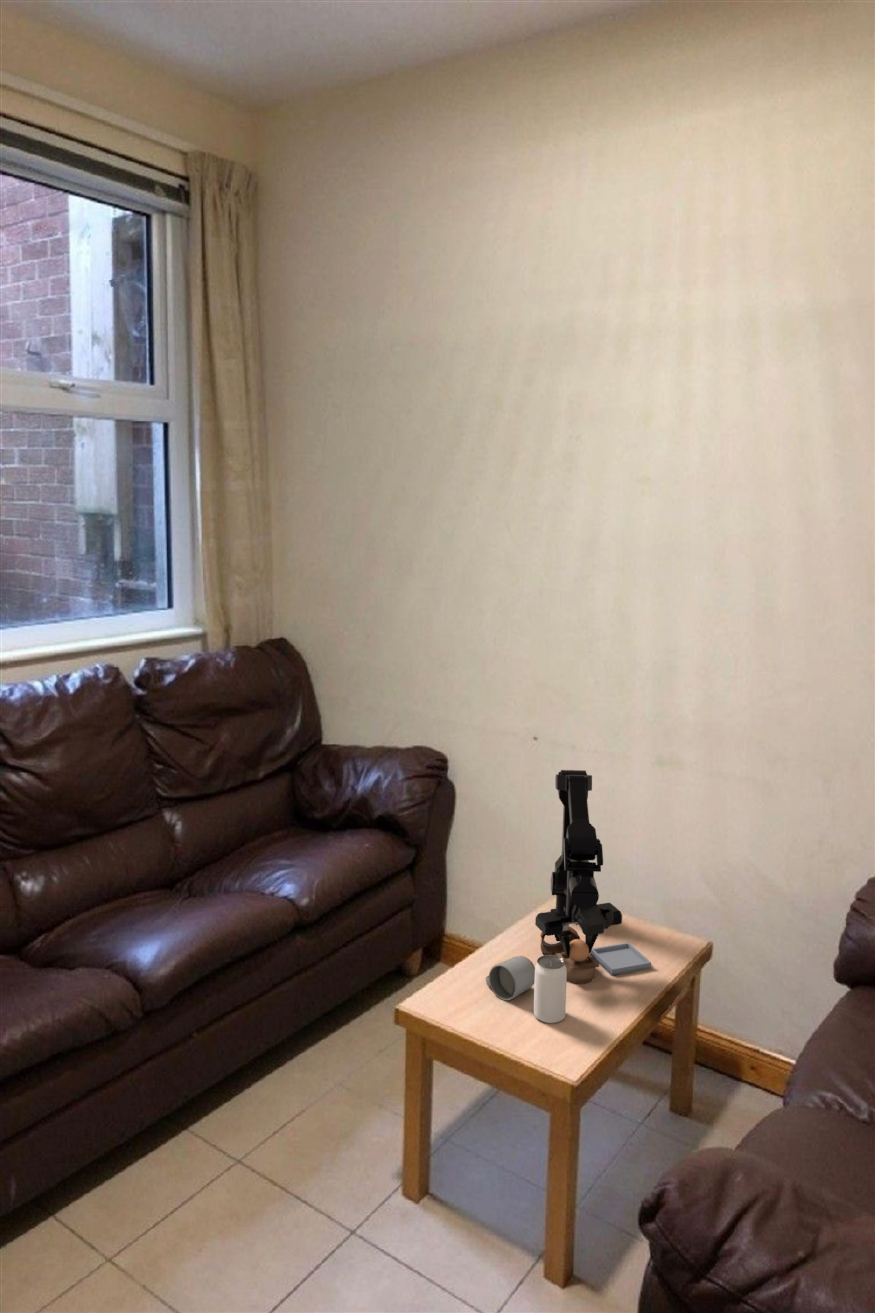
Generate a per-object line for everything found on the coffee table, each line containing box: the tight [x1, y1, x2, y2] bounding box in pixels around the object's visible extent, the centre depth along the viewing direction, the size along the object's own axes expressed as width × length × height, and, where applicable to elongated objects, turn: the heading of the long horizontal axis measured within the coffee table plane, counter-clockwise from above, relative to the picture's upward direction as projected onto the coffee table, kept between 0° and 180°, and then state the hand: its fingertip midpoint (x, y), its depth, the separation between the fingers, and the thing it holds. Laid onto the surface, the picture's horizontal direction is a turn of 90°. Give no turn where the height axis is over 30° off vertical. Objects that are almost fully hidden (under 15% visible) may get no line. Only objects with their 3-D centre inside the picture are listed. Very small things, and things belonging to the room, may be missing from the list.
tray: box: [589, 941, 652, 977], centre depth 213 cm, size 10×10×2 cm
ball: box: [569, 938, 590, 962], centre depth 206 cm, size 5×5×5 cm
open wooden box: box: [555, 952, 600, 985], centre depth 207 cm, size 8×8×4 cm
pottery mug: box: [540, 925, 581, 955], centre depth 218 cm, size 12×10×8 cm
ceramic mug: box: [484, 955, 535, 1002], centre depth 201 cm, size 11×8×8 cm
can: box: [533, 954, 567, 1025], centre depth 190 cm, size 6×6×12 cm
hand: (577, 954), depth 207 cm, fingers closed on ball, 5 cm apart
